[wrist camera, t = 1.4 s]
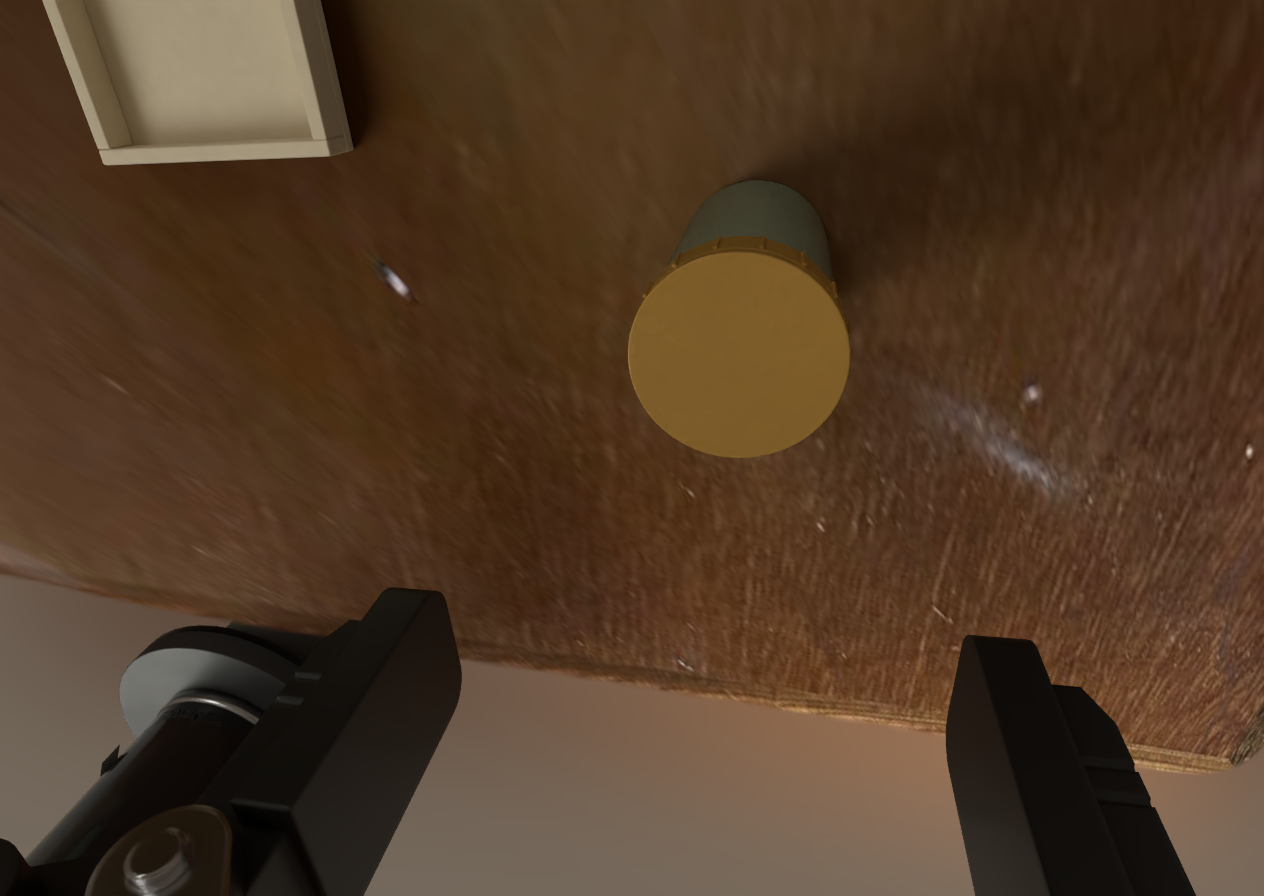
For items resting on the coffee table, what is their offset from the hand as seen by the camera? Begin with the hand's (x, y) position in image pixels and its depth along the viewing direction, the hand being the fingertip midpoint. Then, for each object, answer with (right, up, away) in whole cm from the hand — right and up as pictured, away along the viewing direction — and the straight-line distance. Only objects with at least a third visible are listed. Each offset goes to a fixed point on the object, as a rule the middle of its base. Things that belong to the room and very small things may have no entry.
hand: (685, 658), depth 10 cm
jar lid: (+2, +5, +10) cm, 11 cm away
